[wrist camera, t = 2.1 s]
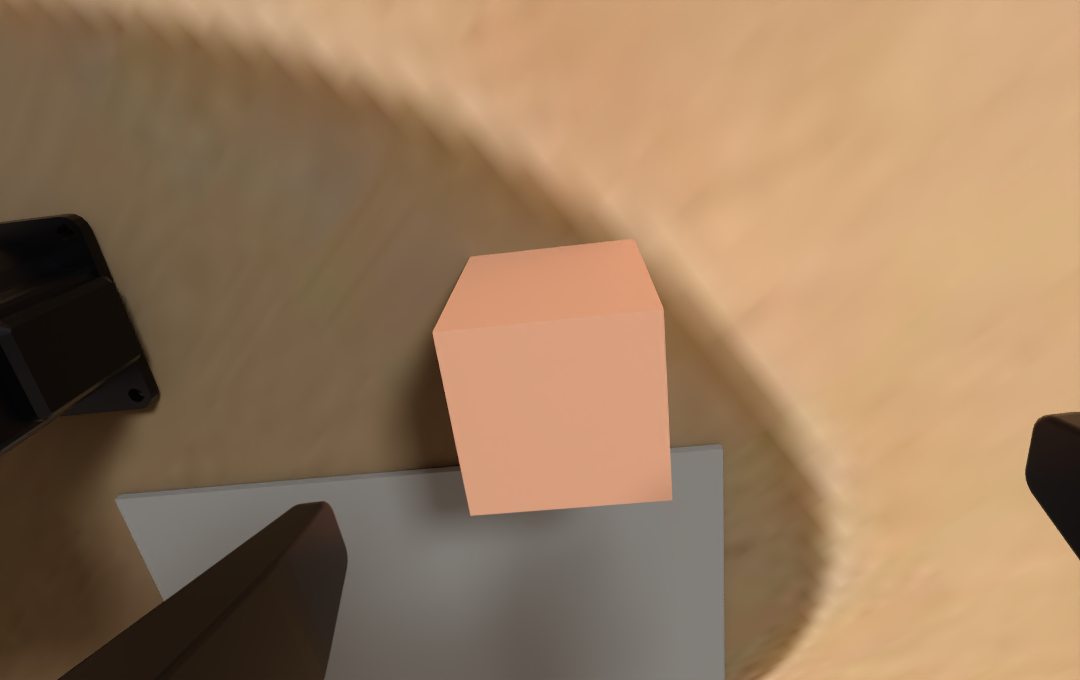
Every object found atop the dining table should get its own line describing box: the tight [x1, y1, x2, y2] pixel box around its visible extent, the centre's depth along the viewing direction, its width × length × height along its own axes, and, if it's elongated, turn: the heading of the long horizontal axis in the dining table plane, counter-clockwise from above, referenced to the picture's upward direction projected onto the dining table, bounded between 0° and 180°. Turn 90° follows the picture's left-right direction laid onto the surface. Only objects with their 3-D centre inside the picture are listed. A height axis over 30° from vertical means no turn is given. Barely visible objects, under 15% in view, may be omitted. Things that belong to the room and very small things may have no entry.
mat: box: [115, 444, 724, 680], centre depth 25 cm, size 22×16×1 cm
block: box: [432, 239, 672, 516], centre depth 17 cm, size 5×5×6 cm
